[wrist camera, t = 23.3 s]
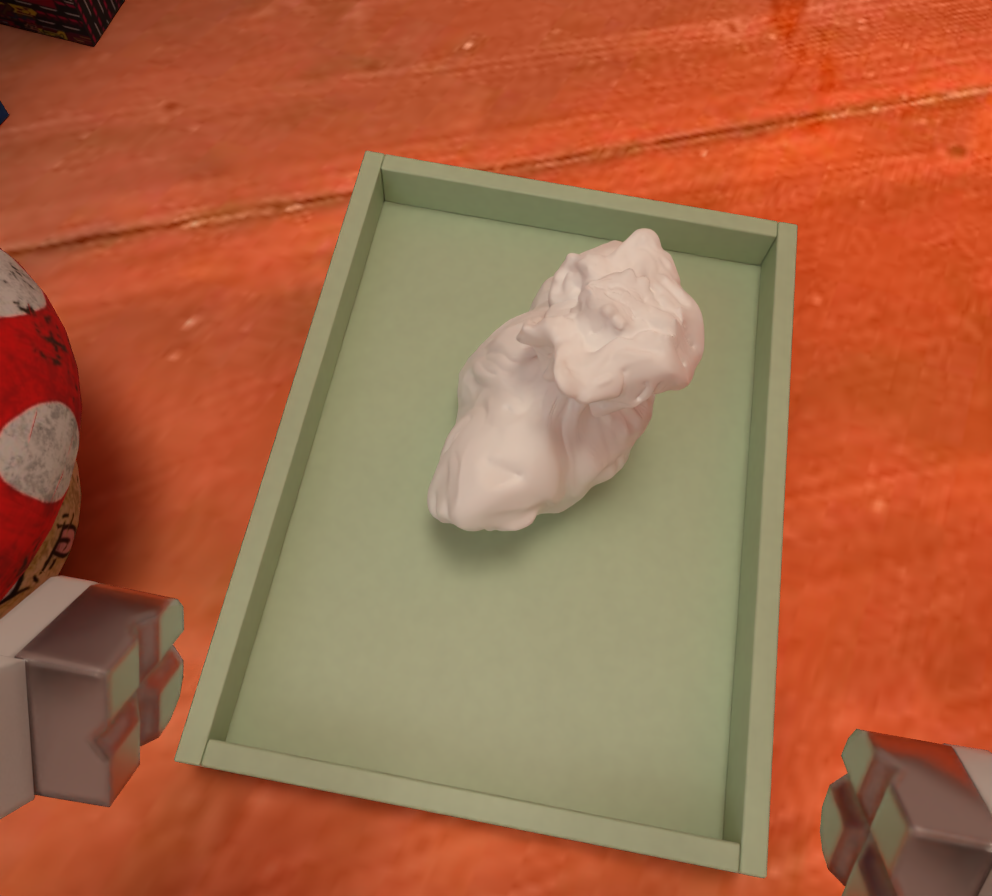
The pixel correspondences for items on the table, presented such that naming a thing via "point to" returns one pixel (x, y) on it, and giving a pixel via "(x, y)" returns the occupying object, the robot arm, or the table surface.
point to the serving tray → (516, 544)
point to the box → (61, 17)
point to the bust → (567, 387)
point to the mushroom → (35, 437)
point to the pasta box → (3, 113)
